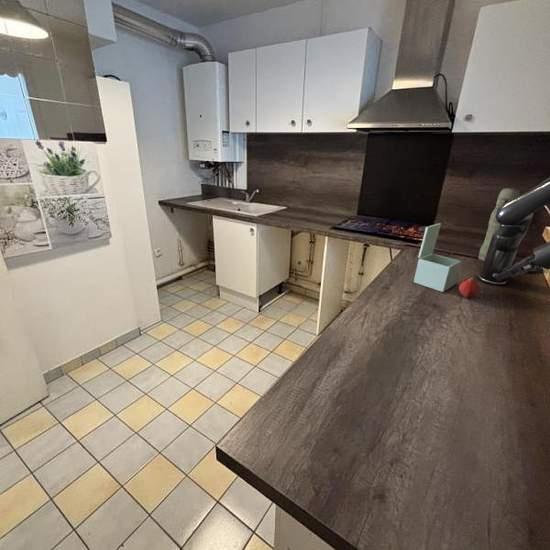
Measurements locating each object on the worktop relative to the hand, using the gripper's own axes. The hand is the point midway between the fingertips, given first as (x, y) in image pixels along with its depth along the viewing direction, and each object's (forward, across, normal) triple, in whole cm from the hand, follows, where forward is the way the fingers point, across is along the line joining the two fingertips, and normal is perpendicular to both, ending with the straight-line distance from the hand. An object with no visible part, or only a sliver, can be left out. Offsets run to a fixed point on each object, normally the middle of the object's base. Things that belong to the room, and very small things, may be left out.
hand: (500, 275), depth 98 cm
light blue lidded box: (+23, +4, +6) cm, 24 cm away
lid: (+14, +4, +22) cm, 27 cm away
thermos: (+20, +56, +3) cm, 60 cm away
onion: (+14, 0, -3) cm, 14 cm away
